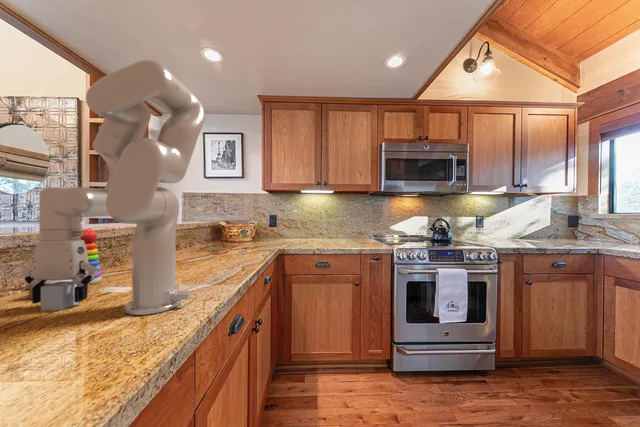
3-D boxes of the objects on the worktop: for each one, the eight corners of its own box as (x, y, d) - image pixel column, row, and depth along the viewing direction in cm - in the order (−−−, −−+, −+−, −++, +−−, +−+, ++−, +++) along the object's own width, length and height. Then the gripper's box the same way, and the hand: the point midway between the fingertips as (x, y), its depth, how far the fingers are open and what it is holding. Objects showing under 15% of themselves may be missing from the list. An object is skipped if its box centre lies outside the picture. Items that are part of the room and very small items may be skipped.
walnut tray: (89, 288, 81) (89, 275, 81) (64, 298, 72) (64, 283, 72) (58, 289, 80) (58, 276, 80) (28, 299, 71) (28, 284, 71)
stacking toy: (63, 286, 84) (63, 229, 83) (89, 279, 91) (89, 228, 91) (83, 287, 82) (83, 230, 82) (108, 280, 90) (108, 228, 90)
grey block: (79, 302, 69) (79, 280, 69) (62, 310, 64) (62, 286, 64) (59, 303, 68) (59, 281, 68) (40, 310, 63) (40, 286, 63)
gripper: (107, 234, 71) (106, 295, 71) (38, 234, 69) (38, 297, 69) (85, 237, 63) (85, 305, 63) (7, 237, 61) (7, 307, 61)
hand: (60, 301), depth 66 cm, fingers open, 9 cm apart
